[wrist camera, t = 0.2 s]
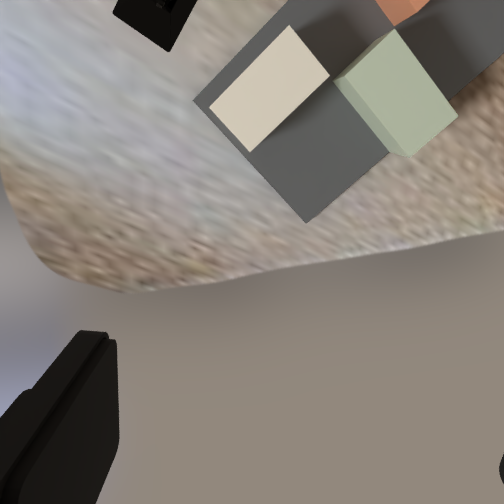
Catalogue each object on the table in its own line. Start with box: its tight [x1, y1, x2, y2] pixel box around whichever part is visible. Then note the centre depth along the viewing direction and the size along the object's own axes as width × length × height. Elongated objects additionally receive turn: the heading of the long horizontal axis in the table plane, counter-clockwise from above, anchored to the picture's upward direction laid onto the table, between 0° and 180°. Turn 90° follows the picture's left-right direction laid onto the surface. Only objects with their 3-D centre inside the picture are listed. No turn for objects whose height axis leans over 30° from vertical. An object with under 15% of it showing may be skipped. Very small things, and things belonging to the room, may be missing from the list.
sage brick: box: [333, 29, 458, 158], centre depth 32 cm, size 8×4×5 cm, turn 43°
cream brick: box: [209, 25, 330, 152], centre depth 32 cm, size 8×4×5 cm, turn 133°
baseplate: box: [193, 0, 504, 224], centre depth 34 cm, size 25×15×1 cm, turn 133°
